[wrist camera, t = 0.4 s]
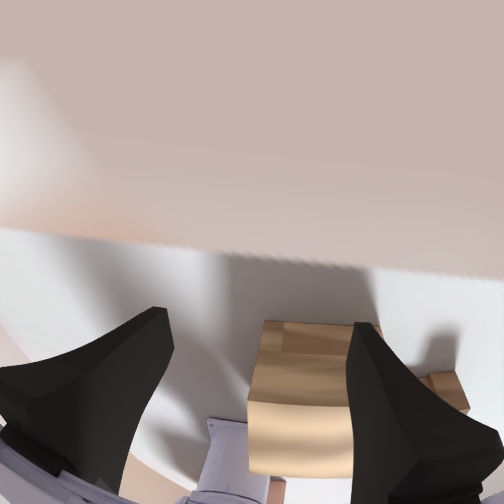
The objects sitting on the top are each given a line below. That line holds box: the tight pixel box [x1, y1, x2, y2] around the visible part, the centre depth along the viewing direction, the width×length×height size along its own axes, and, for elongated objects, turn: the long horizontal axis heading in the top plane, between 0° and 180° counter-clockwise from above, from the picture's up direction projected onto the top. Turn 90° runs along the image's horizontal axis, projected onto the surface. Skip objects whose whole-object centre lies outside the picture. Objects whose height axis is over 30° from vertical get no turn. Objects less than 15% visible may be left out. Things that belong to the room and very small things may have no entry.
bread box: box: [247, 321, 384, 478], centre depth 21 cm, size 10×10×8 cm
